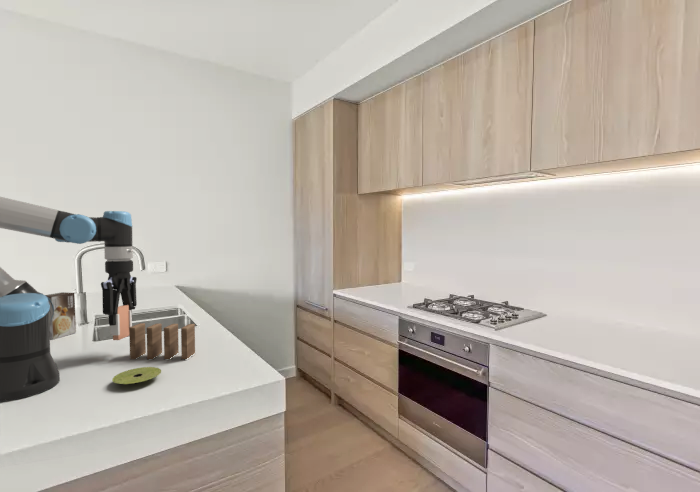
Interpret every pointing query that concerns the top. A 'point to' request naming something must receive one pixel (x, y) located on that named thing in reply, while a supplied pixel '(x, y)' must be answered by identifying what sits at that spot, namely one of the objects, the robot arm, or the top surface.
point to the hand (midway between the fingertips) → (121, 332)
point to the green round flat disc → (136, 375)
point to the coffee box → (62, 315)
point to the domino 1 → (123, 322)
